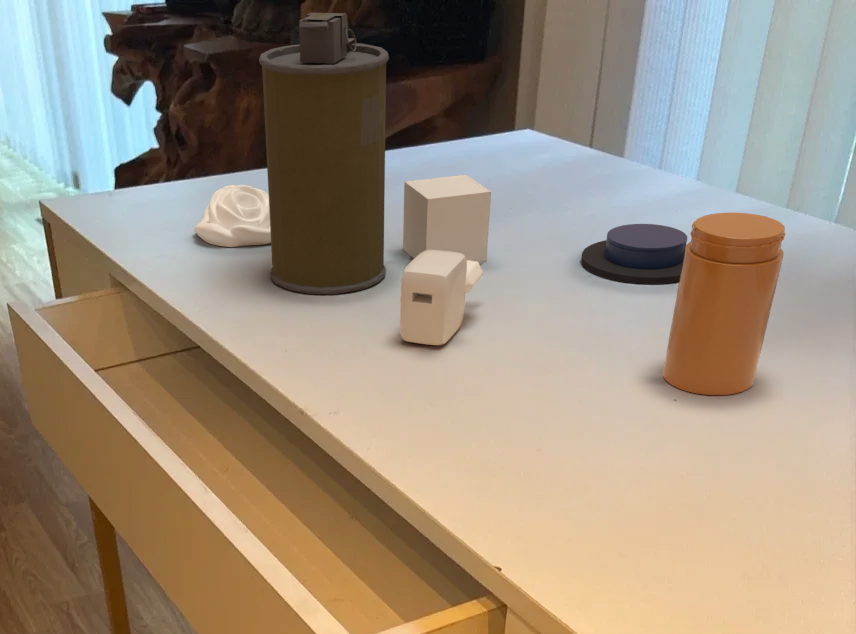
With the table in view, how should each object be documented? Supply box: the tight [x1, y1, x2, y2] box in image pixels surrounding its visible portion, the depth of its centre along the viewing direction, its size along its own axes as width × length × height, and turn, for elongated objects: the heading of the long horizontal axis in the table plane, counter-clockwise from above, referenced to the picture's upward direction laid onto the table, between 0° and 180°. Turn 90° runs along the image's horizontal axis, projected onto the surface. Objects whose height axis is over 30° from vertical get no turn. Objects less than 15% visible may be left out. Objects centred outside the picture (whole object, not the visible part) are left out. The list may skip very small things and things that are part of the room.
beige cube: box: [402, 174, 492, 263], centre depth 102 cm, size 6×6×6 cm
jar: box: [662, 212, 787, 396], centre depth 78 cm, size 6×6×11 cm
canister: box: [258, 12, 390, 295], centre depth 95 cm, size 11×10×20 cm
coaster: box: [580, 239, 683, 285], centre depth 101 cm, size 11×11×1 cm
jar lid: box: [605, 223, 688, 269], centre depth 100 cm, size 7×7×2 cm
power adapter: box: [399, 250, 484, 346], centre depth 89 cm, size 11×5×6 cm, turn 157°
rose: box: [193, 184, 271, 248], centre depth 109 cm, size 10×4×10 cm
